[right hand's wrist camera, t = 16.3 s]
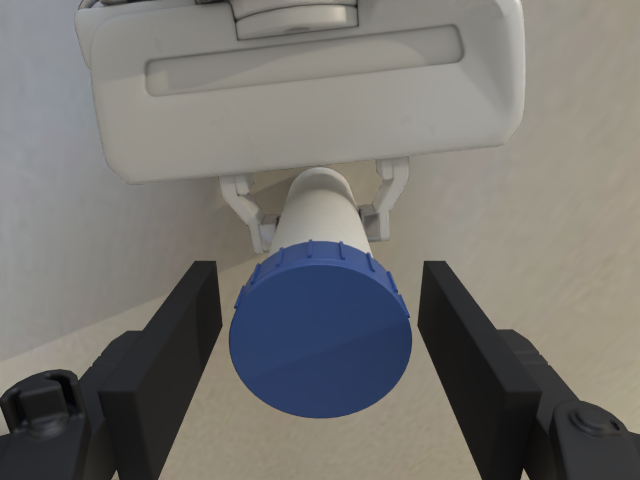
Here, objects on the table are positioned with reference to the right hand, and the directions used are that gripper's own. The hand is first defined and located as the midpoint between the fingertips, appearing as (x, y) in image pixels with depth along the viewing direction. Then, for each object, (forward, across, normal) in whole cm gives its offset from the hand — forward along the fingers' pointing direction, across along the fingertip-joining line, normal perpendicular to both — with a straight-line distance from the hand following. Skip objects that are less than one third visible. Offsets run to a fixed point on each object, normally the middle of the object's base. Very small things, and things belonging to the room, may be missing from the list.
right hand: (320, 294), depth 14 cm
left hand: (+8, 0, -1) cm, 8 cm away
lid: (-3, 0, 0) cm, 3 cm away
